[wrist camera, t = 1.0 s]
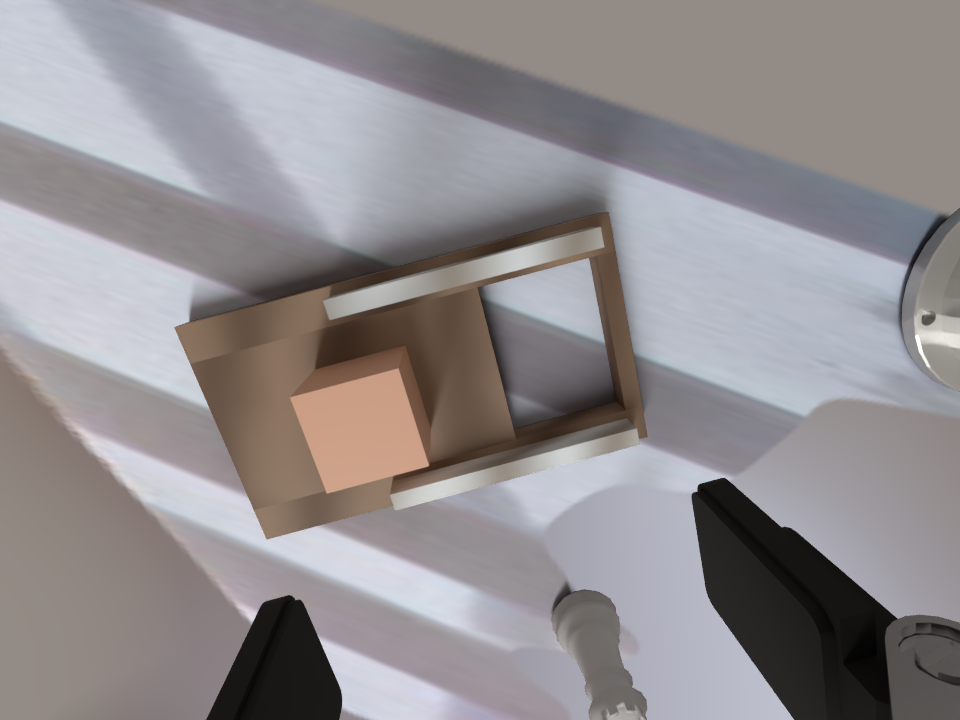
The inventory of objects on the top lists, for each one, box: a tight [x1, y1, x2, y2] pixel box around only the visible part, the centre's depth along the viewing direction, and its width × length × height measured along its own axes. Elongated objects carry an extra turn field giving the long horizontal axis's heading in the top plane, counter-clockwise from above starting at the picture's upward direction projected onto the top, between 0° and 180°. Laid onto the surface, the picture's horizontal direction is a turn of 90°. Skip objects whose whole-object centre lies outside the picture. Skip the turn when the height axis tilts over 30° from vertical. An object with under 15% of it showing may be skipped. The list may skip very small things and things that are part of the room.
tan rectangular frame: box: [174, 212, 648, 539], centre depth 27 cm, size 23×13×3 cm, turn 104°
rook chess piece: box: [552, 590, 647, 720], centre depth 30 cm, size 4×4×8 cm
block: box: [290, 346, 431, 494], centre depth 25 cm, size 5×5×4 cm
